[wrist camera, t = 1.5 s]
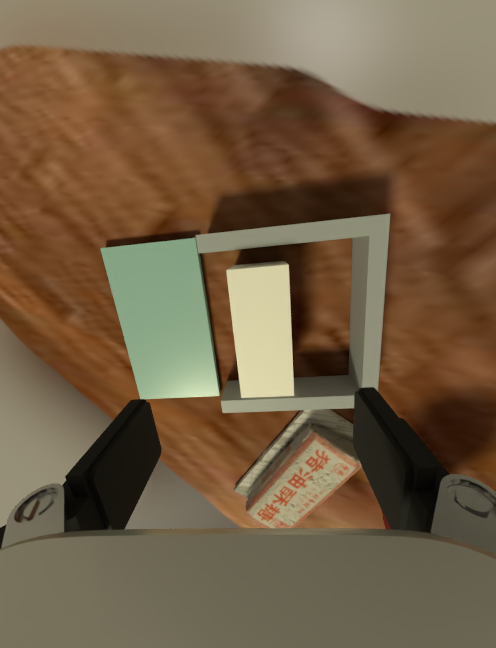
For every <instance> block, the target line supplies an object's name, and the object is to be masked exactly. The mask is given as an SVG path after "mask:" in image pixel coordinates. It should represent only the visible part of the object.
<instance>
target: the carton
mask: <svg viewBox="0 0 496 648" xmlns="http://www.w3.org/2000/svg"><path fill="white" fill-rule="evenodd" d="M226 272H227V280H228V289H229V297H230V306H231V315H232V323H233V332H234V340H235V349H236V357H237V366H238V374H239V383H240V391H241V398H251V397H279V396H294V379H293V355H292V330H291V306H290V282H289V264H287V263H286V262H285V261H275V262H264V263H253V264H242V265H235V266H233V267H231V268H229V269H227V270H226Z"/></svg>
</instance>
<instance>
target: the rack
mask: <svg viewBox="0 0 496 648" xmlns="http://www.w3.org/2000/svg"><path fill="white" fill-rule="evenodd" d="M389 225H390V214H382V215H373V216H364V217H355V218H346V219H337V220H328V221H319V222H310V223H301V224H292V225H283V226H274V227H265V228H256V229H247V230H238V231H229V232H220V233H211V234H202V235H196V242H197V248H198V253H210V252H219V251H229V250H239V249H248V248H258V247H268V246H277V245H287V244H297V243H306V242H316V241H326V240H335V239H345V238H353V242H352V276H351V310H350V344H349V375H337V376H317V377H297V378H293V379H294V396H279V397H251V398H241V391H240V383H239V380H236V381H227V382H226V385H225V389H224V392H223V395H222V399H221V405H222V412H223V413H235V412H262V411H290V410H318V409H345V408H354V395H355V392H356V391H359V388H364V387H374V388H375V389H376V390H377V391H378V380H379V366H380V352H381V338H382V323H383V309H384V295H385V281H386V267H387V253H388V239H389Z"/></svg>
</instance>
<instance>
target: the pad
mask: <svg viewBox="0 0 496 648" xmlns="http://www.w3.org/2000/svg"><path fill="white" fill-rule="evenodd" d="M100 249H101V253H102V257H103V260H104V264H105V268H106V271H107V275H108V279H109V283H110V286H111V290H112V294H113V298H114V301H115V305H116V309H117V313H118V316H119V320H120V324H121V328H122V331H123V335H124V339H125V342H126V346H127V350H128V354H129V357H130V361H131V365H132V369H133V372H134V376H135V380H136V384H137V387H138V391H139V395H140V399H158V398H181V397H204V396H220V393H221V391H220V384H219V377H218V371H217V364H216V358H215V351H214V344H213V338H212V331H211V325H210V318H209V311H208V305H207V298H206V292H205V285H204V278H203V272H202V265H201V259H200V253H198V248H197V242H196V238H189V239H180V240H171V241H162V242H153V243H144V244H135V245H126V246H117V247H108V248H100Z"/></svg>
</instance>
